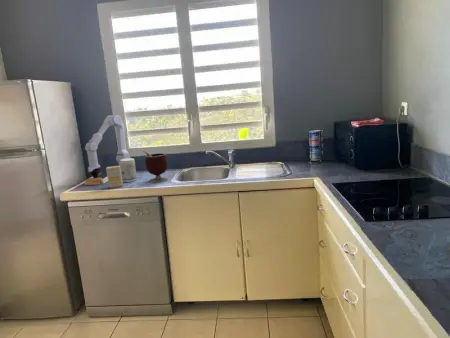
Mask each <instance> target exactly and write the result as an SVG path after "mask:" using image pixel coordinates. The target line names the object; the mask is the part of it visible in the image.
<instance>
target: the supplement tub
mask: <svg viewBox="0 0 450 338" xmlns="http://www.w3.org/2000/svg"><path fill="white" fill-rule="evenodd" d="M120 166H121V174H122V181H123V183H131V182H135V181H137V178H138V177H137V169H136V168H137V167H136V162H135V158H132V157H130V158H127V159H122V160H120Z"/></svg>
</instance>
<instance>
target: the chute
mask: <svg viewBox="0 0 450 338" xmlns="http://www.w3.org/2000/svg"><path fill="white" fill-rule="evenodd" d="M90 178H93V176H91V177H90ZM107 182H108V177H107V176H105V177H104V178H102V180H101V184H102V185H103V184H105V183H107ZM84 185H85V186H87V185H86V181H85V180H84Z"/></svg>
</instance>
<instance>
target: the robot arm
mask: <svg viewBox="0 0 450 338" xmlns="http://www.w3.org/2000/svg"><path fill="white" fill-rule="evenodd" d="M111 126H113V127H114V128H115V129H116V138H117V140H116V141H117V148H118V149H117V150H118V151H117V152H116V157H115V160H116V162H117V163H118V166H120V160H122V159H127V158H131V156H130V153H129V150H127V143H126V132H125V131H126V130H125V124H124V122H123V120H122V117H121V116H120V115H117V114H114V115H113V114H110V115H107V116H106V118H104V119H103V122H102V125H101V126H100V128H99V129H98V132H95V133H93V134H92V137H91V138H90V139H89V141H88V142H87V143H86V144H85V147H84V150H85V151H86V153H87V160H88V165H89V166H88V167H87V170H88V172H87V173H90V175H92V176H91V177H93V178H99V174H100V171H101V170H100V168H101V165H100V164H99V160H98V153H97V150H98V149H99V147H98V146H99V144H100V143H101V142H102V140H103V135H104V133H106V131H107V130H108V128H109V127H111ZM120 168H121V166H120Z"/></svg>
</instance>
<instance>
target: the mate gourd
mask: <svg viewBox="0 0 450 338" xmlns="http://www.w3.org/2000/svg"><path fill="white" fill-rule="evenodd" d="M142 152H143V153H145V154H146V155H145V167H146V171H147V172H148V173H149V174H150V175H154V176H155V177H154V178H150V179H149V180H148V182H149V183H152V184H153V183H154V184H157V183H164V182H166V181H168V180H169V178H167V177H166V176H165V177H164V176H161V175H163V174H165V173H166V171H167V169H168V159H167V155H166V153H163V152H162V153H161V152H159V153H158V152H157V153H150V152H148V151H146V150H143V151H142Z"/></svg>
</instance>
